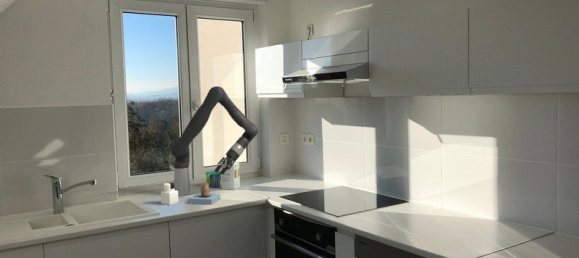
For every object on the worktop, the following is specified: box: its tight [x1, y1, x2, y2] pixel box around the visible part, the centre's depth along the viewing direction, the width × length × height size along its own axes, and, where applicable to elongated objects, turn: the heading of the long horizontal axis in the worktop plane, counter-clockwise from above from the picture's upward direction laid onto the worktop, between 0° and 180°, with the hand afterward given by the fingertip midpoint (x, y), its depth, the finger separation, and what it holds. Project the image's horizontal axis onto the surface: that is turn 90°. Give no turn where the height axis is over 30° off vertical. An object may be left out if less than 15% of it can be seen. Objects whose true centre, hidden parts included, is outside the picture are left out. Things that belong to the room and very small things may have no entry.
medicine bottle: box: [160, 181, 179, 206], centre depth 286 cm, size 7×7×12 cm
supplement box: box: [220, 162, 241, 191], centre depth 326 cm, size 10×9×17 cm
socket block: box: [188, 193, 222, 205], centre depth 289 cm, size 14×14×3 cm
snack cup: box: [205, 170, 222, 188], centre depth 334 cm, size 16×10×10 cm
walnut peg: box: [200, 181, 210, 198], centre depth 289 cm, size 5×5×11 cm
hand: (218, 172), depth 293 cm, fingers open, 8 cm apart
